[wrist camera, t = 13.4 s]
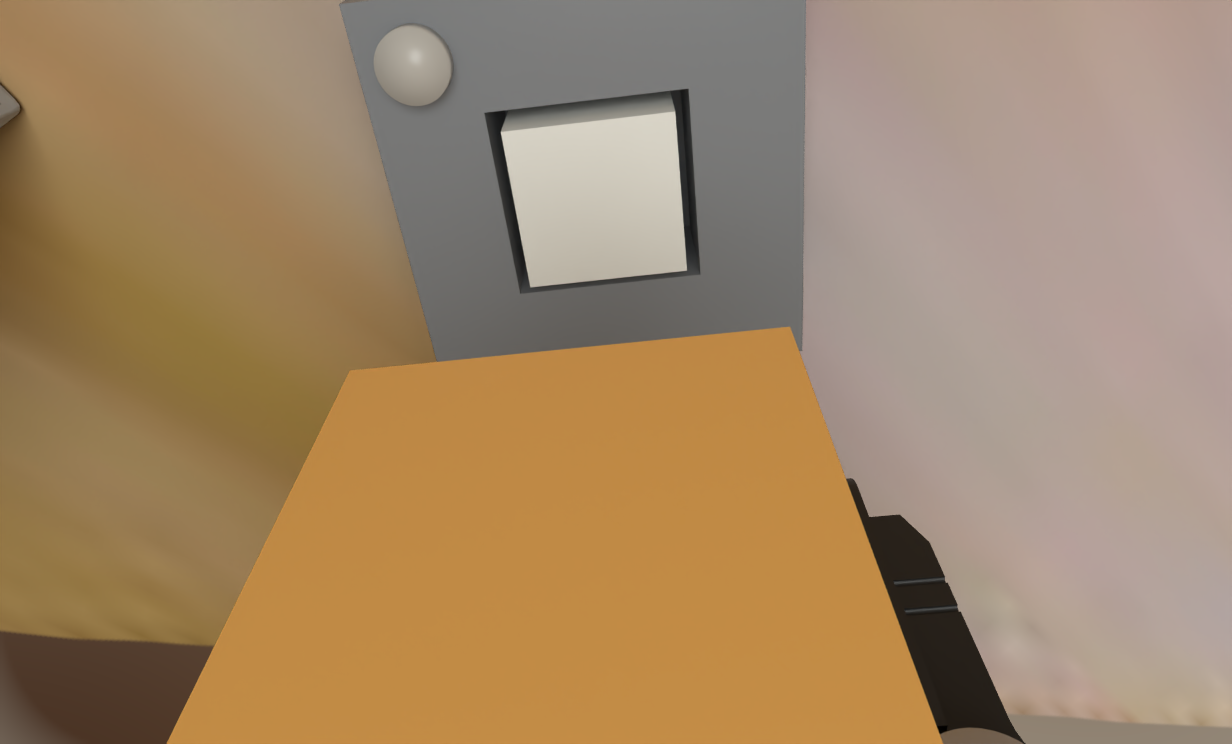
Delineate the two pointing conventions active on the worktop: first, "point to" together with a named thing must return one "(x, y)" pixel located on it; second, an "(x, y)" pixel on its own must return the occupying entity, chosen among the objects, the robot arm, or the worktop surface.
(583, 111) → the switch
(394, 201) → the grey square block
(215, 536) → the worktop surface
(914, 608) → the robot arm
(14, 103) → the coffee box
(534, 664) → the orange matte cube
